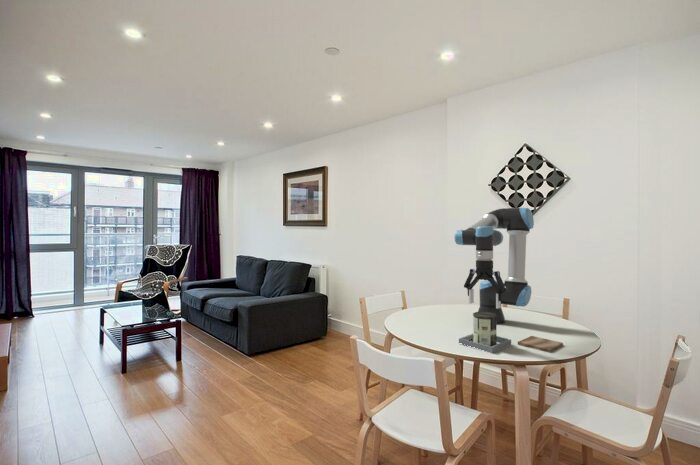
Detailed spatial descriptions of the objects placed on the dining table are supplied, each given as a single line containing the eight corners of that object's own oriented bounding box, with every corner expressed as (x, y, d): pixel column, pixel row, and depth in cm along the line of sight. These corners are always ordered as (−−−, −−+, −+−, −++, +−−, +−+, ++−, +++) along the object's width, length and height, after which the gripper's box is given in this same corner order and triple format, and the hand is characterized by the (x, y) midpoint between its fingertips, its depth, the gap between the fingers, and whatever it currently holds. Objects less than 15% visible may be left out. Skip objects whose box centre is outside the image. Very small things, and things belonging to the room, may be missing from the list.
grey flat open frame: (458, 343, 169) (458, 338, 169) (478, 336, 180) (478, 331, 180) (492, 353, 156) (492, 347, 156) (511, 344, 167) (511, 339, 167)
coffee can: (490, 340, 174) (490, 311, 173) (501, 347, 163) (500, 316, 163) (469, 341, 173) (469, 311, 172) (478, 348, 163) (478, 317, 162)
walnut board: (517, 344, 167) (517, 341, 167) (531, 338, 176) (531, 335, 176) (549, 352, 156) (549, 349, 156) (562, 345, 165) (562, 342, 165)
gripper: (456, 258, 174) (456, 302, 175) (506, 262, 155) (506, 311, 155) (465, 257, 179) (465, 300, 180) (515, 260, 160) (515, 308, 160)
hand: (484, 305), depth 167 cm, fingers open, 13 cm apart
